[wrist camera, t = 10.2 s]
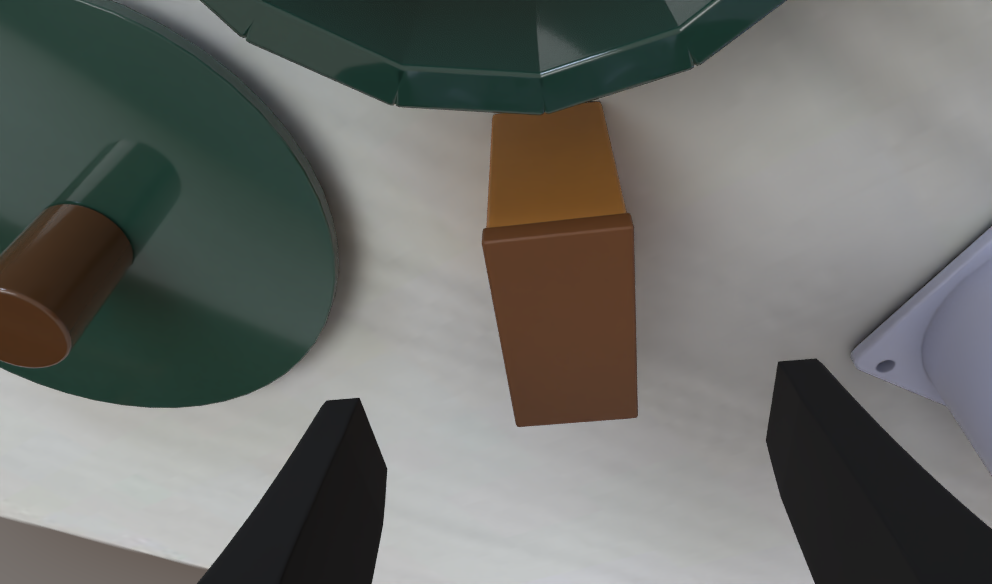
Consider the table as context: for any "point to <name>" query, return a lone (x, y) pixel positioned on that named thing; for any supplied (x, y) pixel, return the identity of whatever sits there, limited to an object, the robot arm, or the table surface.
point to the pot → (492, 45)
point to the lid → (149, 215)
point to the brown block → (561, 268)
